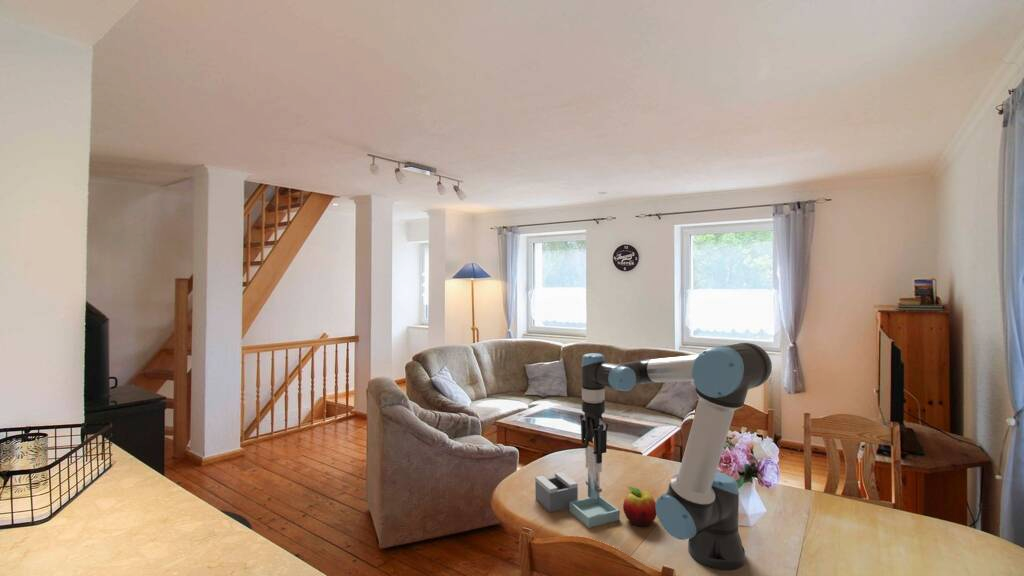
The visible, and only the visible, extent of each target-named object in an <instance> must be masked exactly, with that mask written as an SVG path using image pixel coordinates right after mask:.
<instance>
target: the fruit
mask: <svg viewBox="0 0 1024 576" xmlns="http://www.w3.org/2000/svg"><path fill="white" fill-rule="evenodd" d="M628 490H629V491H630V493H629V494H627V495H626V497H625V498H624V500H623V501H624V502H623V505H622V506H623V509H622V510H623V512H624V515H625V517H626V519H627V520H628V521H629V522H630V523H632V524H633V525H636V526H640V527H646V526H648V525H650V524H652V523H653V522H654V521H655V519H656V518H657V514H656V508H655V506H656V500H655V499H654V497H653V495H652V494H650V493H649V492H648V491H643V490H640V489H638V488H637V487H633V486H628Z"/></svg>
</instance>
